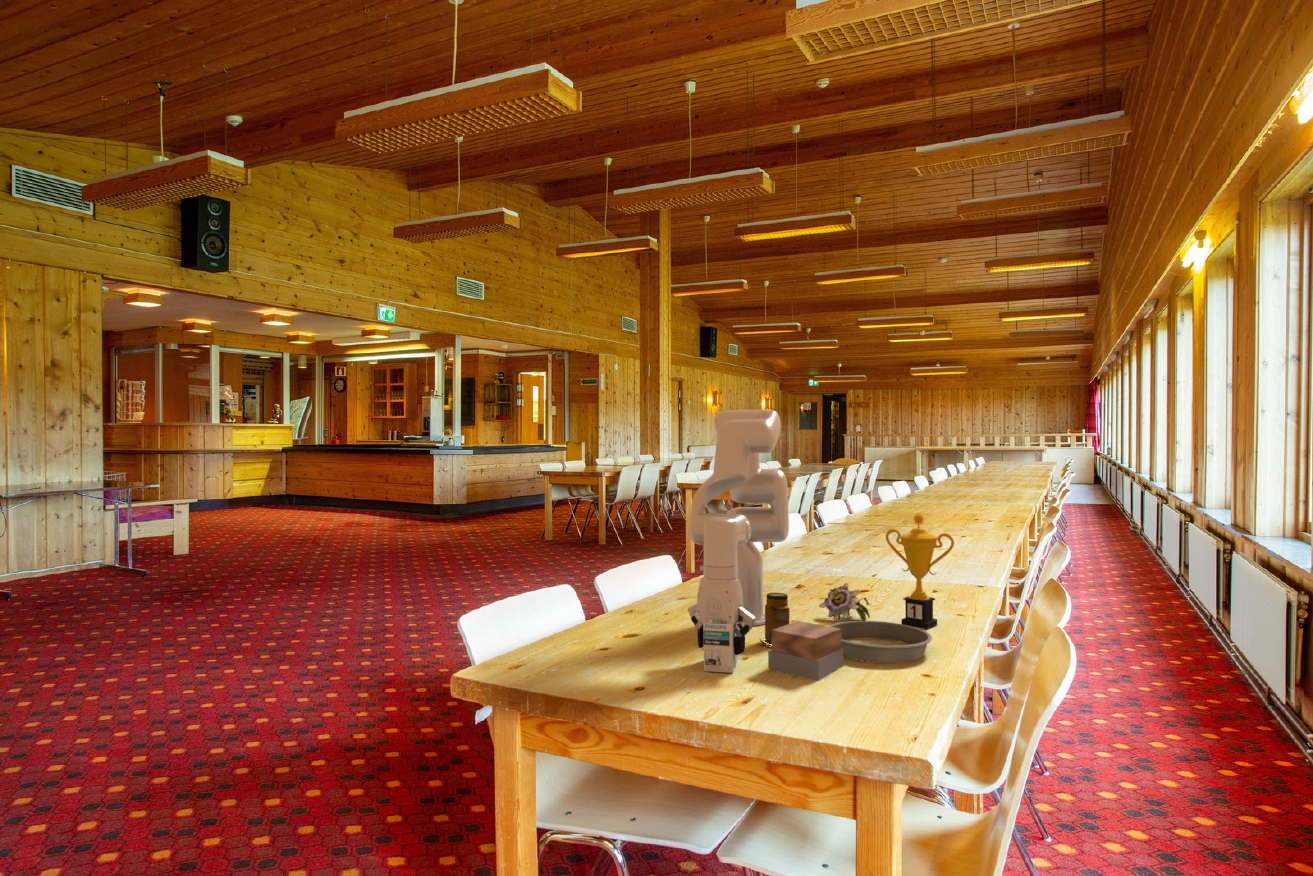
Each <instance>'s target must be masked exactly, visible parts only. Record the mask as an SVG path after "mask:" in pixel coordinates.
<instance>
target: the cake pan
mask: <svg viewBox="0 0 1313 876" xmlns="http://www.w3.org/2000/svg"><path fill="white" fill-rule="evenodd" d="M828 626H829V627H834V628H840V629H841V644H842V648H843V658H847V659H851V660H855V659H857V660H856V661H860V660H863V661H862V662H866V661H870V662H869V663H875V662H877V663H876V664H879V663H880V664H902V663H903V662H904V663H911V662H915V661H918V660H921V659H922V658H924V656H925V653H926V649H927V645H928V644H929V643H930V642H931V641H932V639H933V636H932V635H931V634H930V633H929V632H927V631H926V630H925V629H921V628H916V627H912V626H908V625H903V624H901V623H894V622H890V621H889V622H888V621H881V620H879V621H877V620H866V621H862V620H853V621H841V622H836V623H833V624H830V625H828ZM854 638H875V639H874V640H884V639H885V640H886V641H891V642H897V641H901V642H900V643H902V642H904V643H903V644H902V645H886V644H885V645H884V644H883V645H881V644H869V643H862V642H857V641H856V642H855V641H852V640H855V639H854ZM849 639H850V640H849ZM885 640H884V641H885ZM906 643H907V644H906ZM909 644H910V645H909ZM917 659H918V660H917ZM914 660H915V661H914ZM910 661H911V662H910Z"/></svg>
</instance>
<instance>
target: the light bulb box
mask: <svg viewBox="0 0 1313 876" xmlns="http://www.w3.org/2000/svg"><path fill="white" fill-rule="evenodd" d="M735 636H737V635H736V634H735V632H734V626H733V623H726V622H721V621H716V620H711V619H705V621H704V622H703V645H704V647H703V672H709V673H710V672H712V673H724V674H725V673H727V674H728V673H729V674H734V672H735V669H736V666H737V665H738V664H737V663H738V661H739V655H735V654H734V637H735Z"/></svg>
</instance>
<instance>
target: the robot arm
mask: <svg viewBox="0 0 1313 876" xmlns="http://www.w3.org/2000/svg"><path fill="white" fill-rule="evenodd" d="M713 423H714V428H715V431H716V434H717V435H716V443H715V444H716V445H715V452H714V454H715V455H714V463H713V472H712V474H711V475H710V476H709V477H708V478H707V479H706V480H705V481H704V482H703V483H702V484H701V485H700V486H699V488H698V489H697V490H696V492H695V493H694V496H693V498H692V502H691V506H690V514H689V523H688V533H689V538H690V540H691V541H692V543H693V544H696V545H699V546H703V565H700V566H699V571H700V572H702V573H703V577H701V578H700V581H699V584H698V589H697V590H698V591H697V598H696V604H694V605H692V606H689V607H688V608H687V611H688V614H689V616H690V620H691V622H692V623H693V625H694V627H695V630H697V646H698V649H703V648H704V645H703V622H704V621H705V619H711V620H716V621H721V622H726V623H733V626H734V632H735V634H736V635H737V636H735V637H734V654H735V655H738V656H739V655H741V654H744V653H745V650H746V635H748V633H749V632H750V631H751V630H752V629H753V626H754V627H755V626H761V625H765V613H764V560H763V559H764V558H763V555H762V554H761V551H760V550H759V548H758V547H757V546H756V545H755V543H782V542H784V541H786V540H787V538H788V535H789V529H790V519H789V517H790V515H789V488H788V480H787V477H786V474H785V472H784V471H782V470H780V469H777V468H776V469H775V468H761V466H760V454H768V453H771V452H773V451H774V449H775V448H776V446H777V442H778V440H779V437H780V434H781V428H782V426H781V418H780V415H779V413H778V412H777V411H776V410H773V409H731V410H724V411H720V412H718V413H717V414H716V415H715V416H714V422H713ZM728 492H729V496H730V498H731V500H732V501H733V502H735V503H738V504H739V503H740V504H758V505H760V504H764V505H765V504H768V505H769V506H770V507H758V506H757V507H756V506H738V507H733V508H730V509H729V510H728V511H727V513H723V512H722V513H721V512H705V510H706V506H707V505H708V504H709V503H710V502H711V501H712V500H713V499H715V498H717V497H718V496H721V495H722V494H725V493H728Z"/></svg>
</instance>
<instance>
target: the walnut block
mask: <svg viewBox="0 0 1313 876" xmlns="http://www.w3.org/2000/svg"><path fill="white" fill-rule="evenodd" d="M829 626H830V625H824V624H823V625H822V624H817V623H812V622H807V621H806V622H805V621H802V620H797V621H794V622H791V623H789V624H788V625H785V626H782V627H779V628H776V629H773V630H771V643H772V647H771V650H772V651H776V652H780V653H785V654H790V655H794V656H799V657H803V658H808V659H812V660H818V659H820V658H822V657H825V656H827V655H829V654H832V653H834V652H836V651H839V650H841V649H842V644H841V629H840V628H834V627H829Z"/></svg>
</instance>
